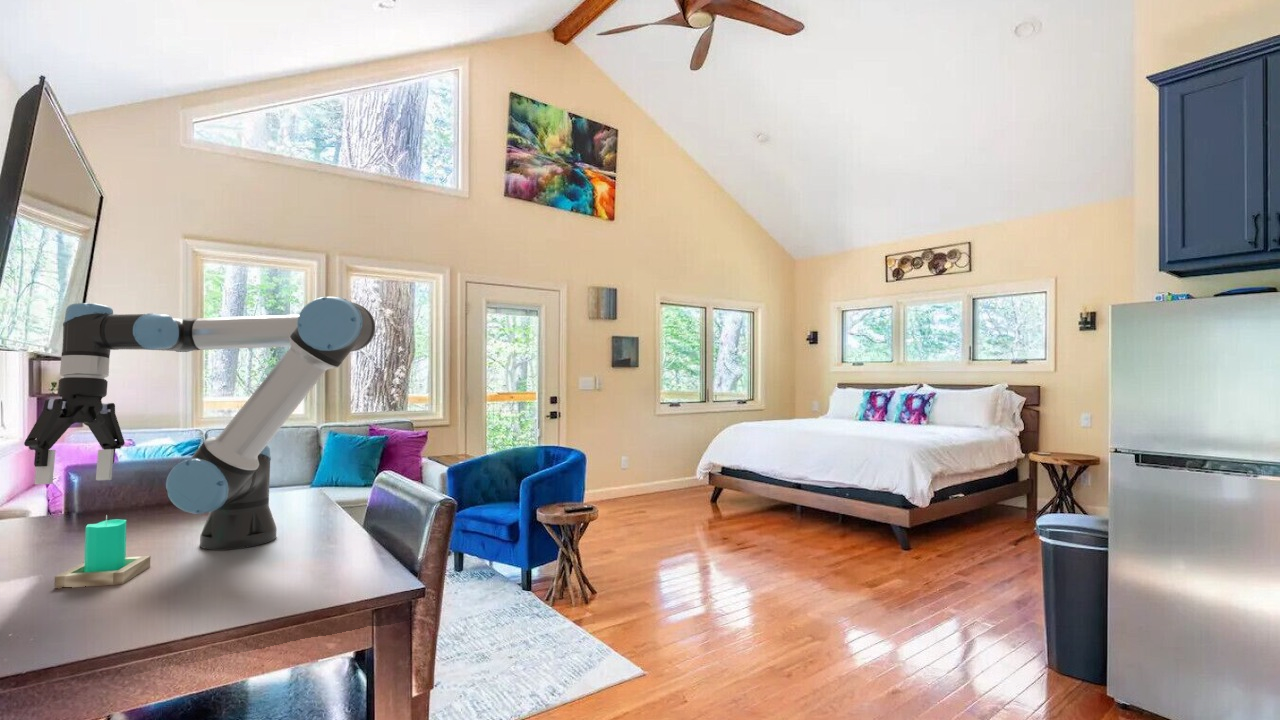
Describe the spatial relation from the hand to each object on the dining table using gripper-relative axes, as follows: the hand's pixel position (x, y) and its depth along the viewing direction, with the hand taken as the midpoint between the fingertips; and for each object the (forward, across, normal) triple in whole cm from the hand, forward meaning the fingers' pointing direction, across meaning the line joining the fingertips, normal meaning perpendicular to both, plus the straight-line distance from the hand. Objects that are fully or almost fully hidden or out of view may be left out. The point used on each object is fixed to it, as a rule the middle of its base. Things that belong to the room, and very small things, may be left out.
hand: (75, 482), depth 124 cm
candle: (+19, +3, +10) cm, 21 cm away
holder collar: (+18, +3, +10) cm, 21 cm away
